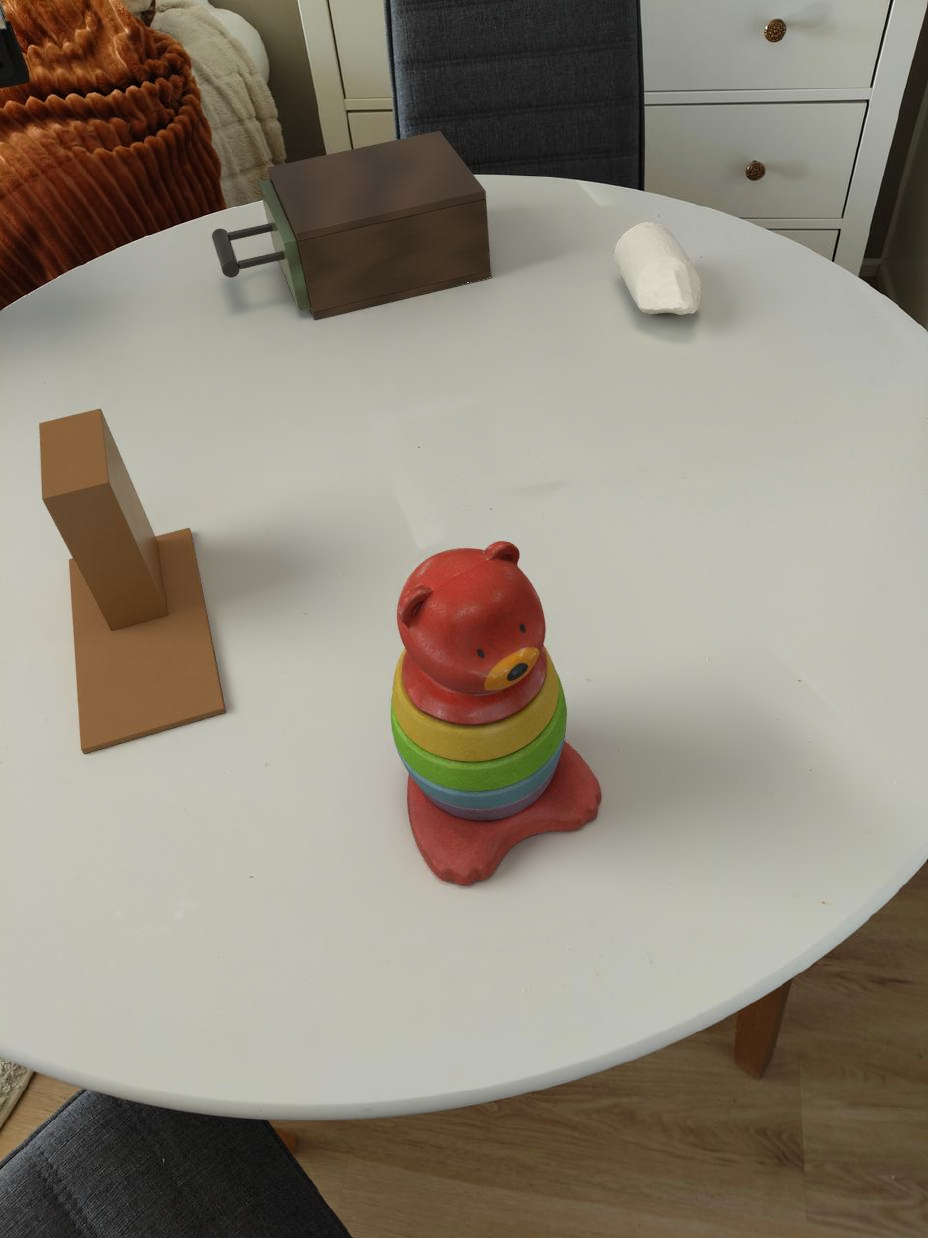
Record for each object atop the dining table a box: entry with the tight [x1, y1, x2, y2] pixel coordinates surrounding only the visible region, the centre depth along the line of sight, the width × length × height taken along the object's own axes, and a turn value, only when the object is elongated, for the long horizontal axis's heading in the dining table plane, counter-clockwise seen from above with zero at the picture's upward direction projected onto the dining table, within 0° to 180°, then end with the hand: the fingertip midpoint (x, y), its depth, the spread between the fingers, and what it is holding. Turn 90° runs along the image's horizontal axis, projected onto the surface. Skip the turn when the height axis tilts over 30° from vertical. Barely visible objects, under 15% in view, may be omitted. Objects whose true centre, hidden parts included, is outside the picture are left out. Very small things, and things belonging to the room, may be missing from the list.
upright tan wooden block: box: [38, 408, 168, 631], centre depth 66 cm, size 8×4×12 cm, turn 18°
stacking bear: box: [390, 540, 603, 886], centre depth 51 cm, size 11×10×18 cm
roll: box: [613, 221, 703, 316], centre depth 88 cm, size 6×12×6 cm, turn 9°
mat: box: [68, 527, 227, 755], centre depth 68 cm, size 18×9×1 cm, turn 18°
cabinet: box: [267, 130, 492, 321], centre depth 96 cm, size 18×15×9 cm
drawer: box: [211, 178, 311, 312], centre depth 96 cm, size 22×13×7 cm, turn 108°
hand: (10, 82), depth 79 cm, fingers closed
